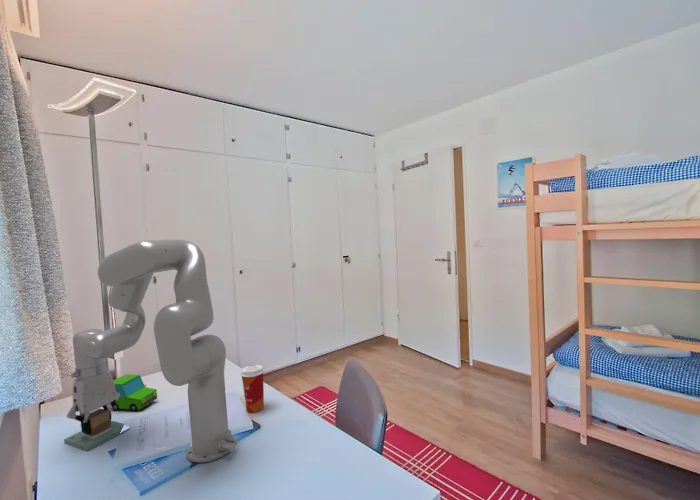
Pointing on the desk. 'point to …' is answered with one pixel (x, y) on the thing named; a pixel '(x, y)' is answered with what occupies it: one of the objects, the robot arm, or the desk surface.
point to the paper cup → (253, 388)
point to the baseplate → (94, 437)
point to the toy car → (133, 393)
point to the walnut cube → (99, 420)
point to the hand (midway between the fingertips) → (97, 427)
